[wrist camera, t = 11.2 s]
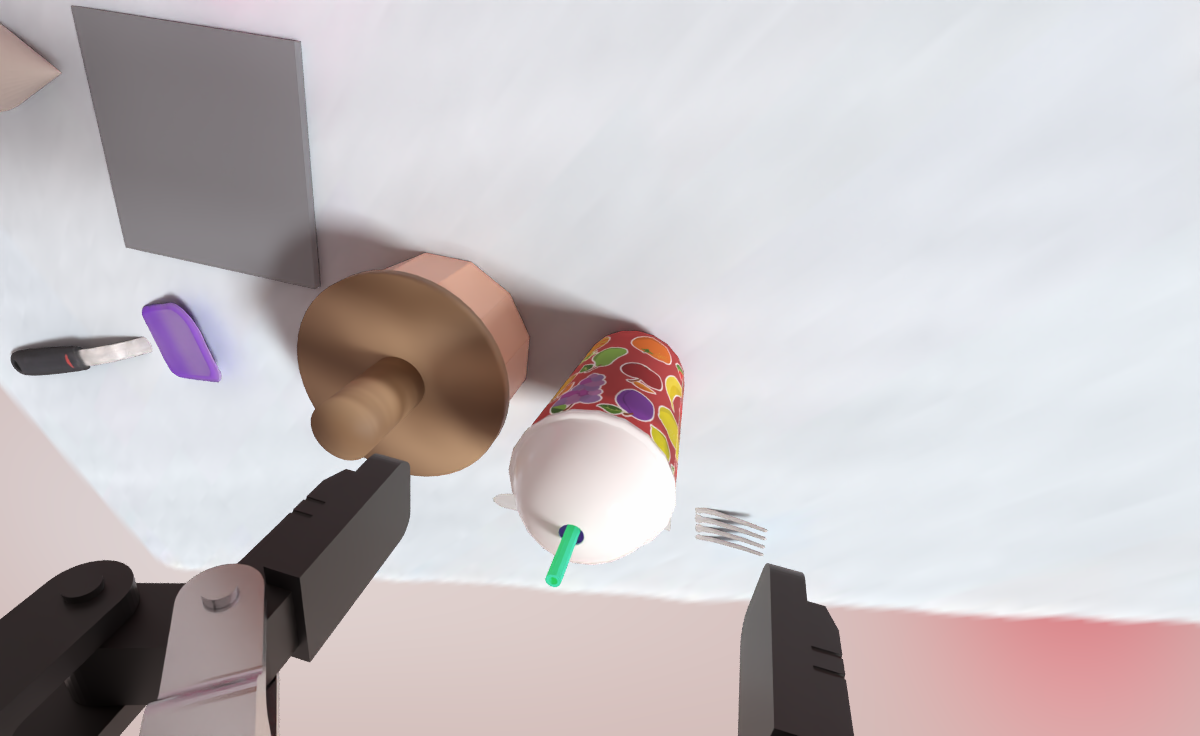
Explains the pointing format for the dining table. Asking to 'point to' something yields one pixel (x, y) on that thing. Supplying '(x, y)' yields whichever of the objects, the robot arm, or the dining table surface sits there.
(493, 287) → the bowl
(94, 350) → the spatula
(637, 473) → the smoothie
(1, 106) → the ice cream cone
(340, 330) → the lid
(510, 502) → the fork
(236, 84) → the mat
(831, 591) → the dining table surface
